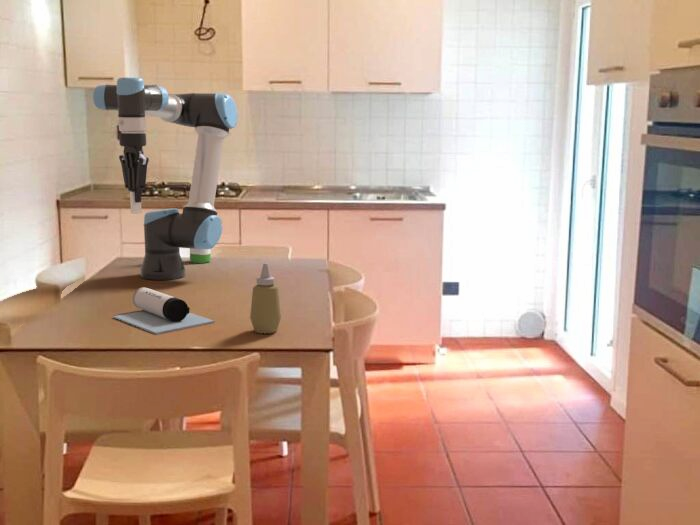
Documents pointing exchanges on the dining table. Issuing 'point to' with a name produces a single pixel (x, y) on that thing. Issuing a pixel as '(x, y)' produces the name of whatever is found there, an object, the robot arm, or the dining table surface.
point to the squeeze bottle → (265, 304)
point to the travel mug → (160, 304)
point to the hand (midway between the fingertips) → (136, 213)
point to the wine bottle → (200, 255)
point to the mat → (161, 322)
